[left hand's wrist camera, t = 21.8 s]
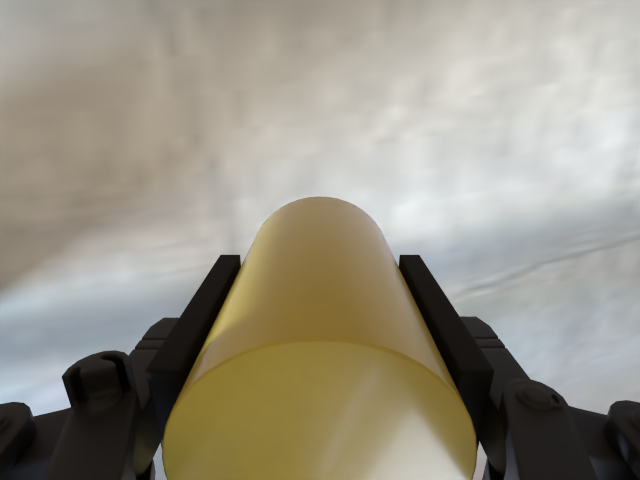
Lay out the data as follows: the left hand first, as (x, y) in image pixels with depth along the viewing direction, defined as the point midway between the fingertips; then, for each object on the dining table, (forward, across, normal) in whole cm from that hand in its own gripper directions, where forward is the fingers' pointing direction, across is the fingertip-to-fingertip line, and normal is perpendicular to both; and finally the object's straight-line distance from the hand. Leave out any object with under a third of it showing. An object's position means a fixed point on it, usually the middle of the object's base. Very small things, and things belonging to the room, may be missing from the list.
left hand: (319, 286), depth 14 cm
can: (+2, 0, 0) cm, 2 cm away
